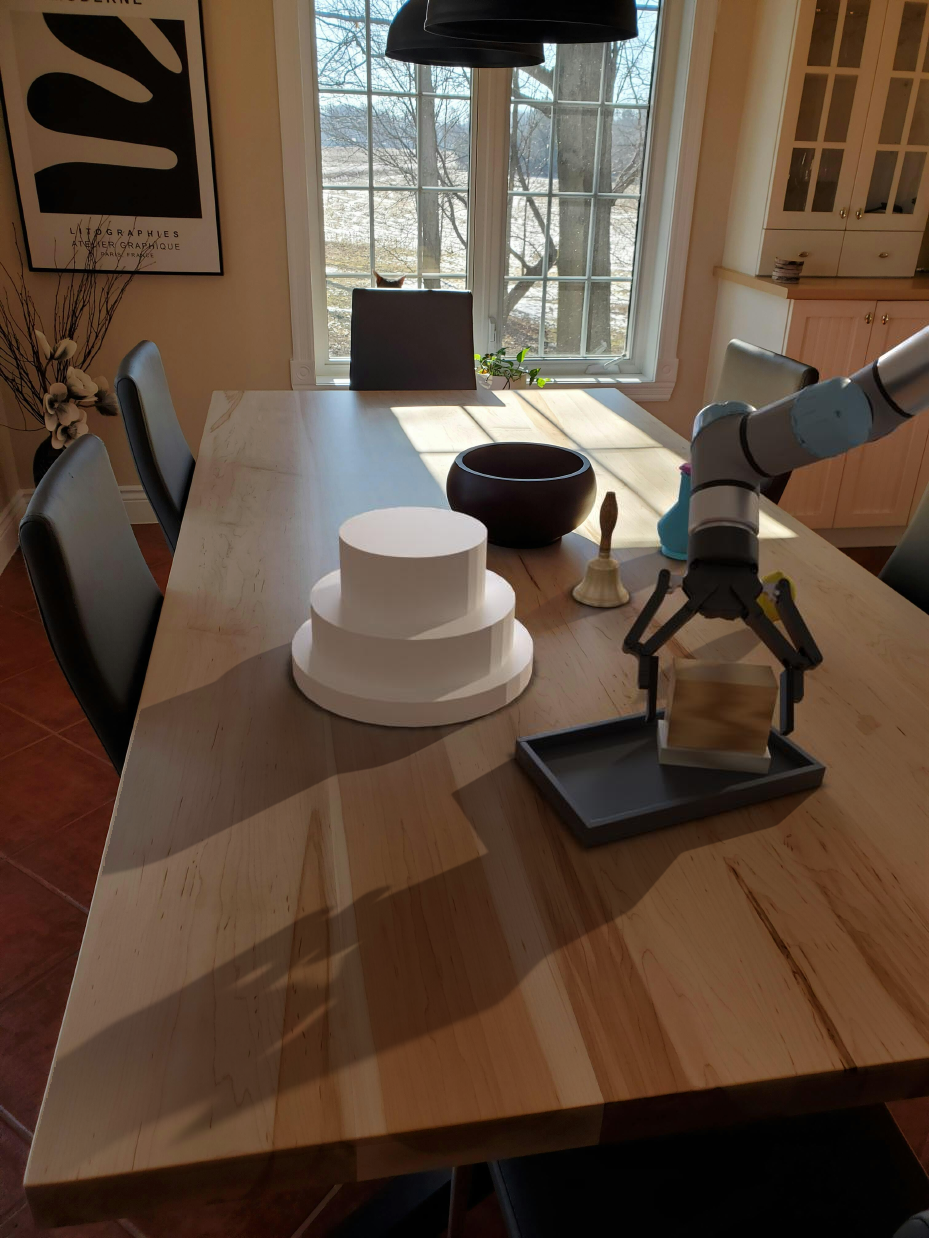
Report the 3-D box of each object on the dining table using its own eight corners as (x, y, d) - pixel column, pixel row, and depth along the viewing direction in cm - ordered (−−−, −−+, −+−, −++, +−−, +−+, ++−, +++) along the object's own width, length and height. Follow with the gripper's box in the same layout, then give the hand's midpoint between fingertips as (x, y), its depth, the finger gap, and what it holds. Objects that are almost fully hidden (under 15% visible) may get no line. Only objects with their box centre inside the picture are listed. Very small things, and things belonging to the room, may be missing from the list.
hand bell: (563, 588, 136) (572, 486, 129) (613, 582, 138) (624, 482, 131) (587, 610, 129) (597, 504, 122) (638, 604, 131) (651, 500, 124)
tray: (821, 785, 92) (826, 766, 91) (586, 848, 83) (588, 828, 82) (727, 709, 105) (730, 692, 104) (514, 756, 96) (515, 738, 95)
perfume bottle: (675, 566, 145) (688, 476, 138) (643, 546, 152) (653, 460, 146) (721, 558, 148) (735, 470, 142) (687, 540, 156) (699, 455, 149)
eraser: (759, 744, 97) (775, 663, 93) (767, 774, 92) (785, 690, 88) (656, 734, 99) (667, 654, 94) (659, 763, 94) (671, 680, 89)
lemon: (778, 613, 130) (788, 562, 126) (797, 631, 125) (808, 578, 121) (742, 615, 129) (751, 564, 125) (760, 633, 124) (770, 580, 120)
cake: (548, 724, 101) (560, 580, 93) (279, 729, 99) (268, 581, 91) (516, 610, 128) (523, 491, 120) (304, 612, 126) (297, 490, 118)
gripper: (830, 559, 101) (833, 745, 94) (606, 542, 103) (593, 722, 97) (852, 531, 94) (857, 730, 87) (611, 513, 96) (597, 705, 90)
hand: (718, 726), depth 92 cm, fingers open, 13 cm apart
